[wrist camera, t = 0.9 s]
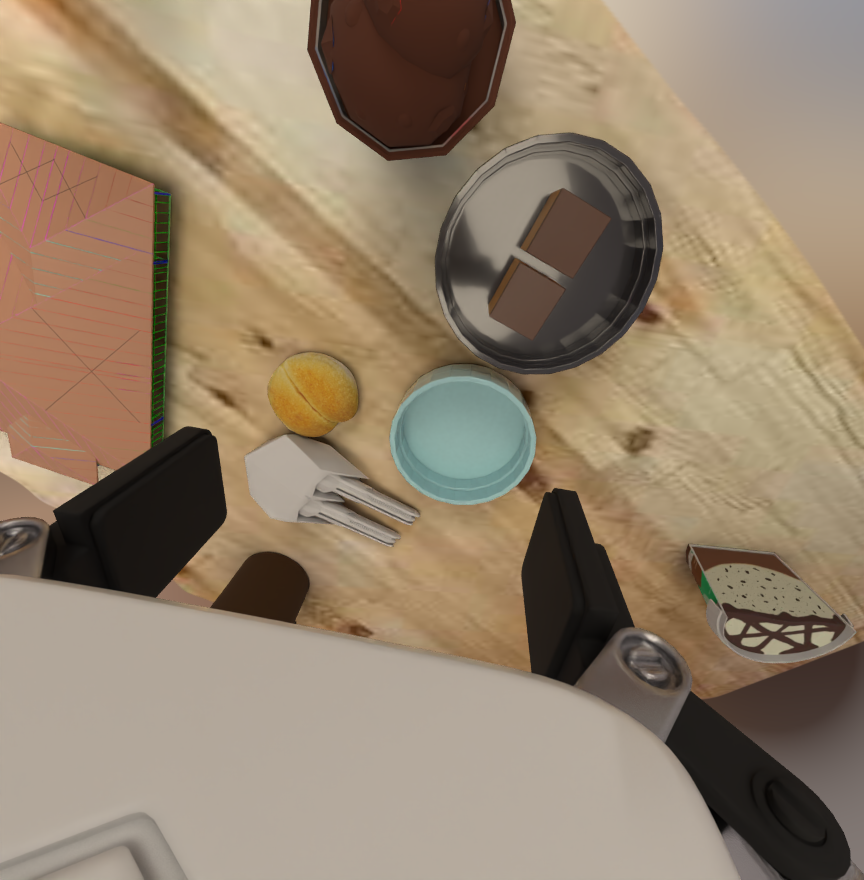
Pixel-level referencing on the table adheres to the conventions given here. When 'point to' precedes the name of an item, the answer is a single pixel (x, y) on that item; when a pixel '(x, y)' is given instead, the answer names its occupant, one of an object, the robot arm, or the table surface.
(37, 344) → the house
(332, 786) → the robot arm
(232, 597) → the olive oil
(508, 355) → the charcoal bowl
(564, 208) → the snack cake
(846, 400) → the table surface
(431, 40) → the ice cream bowl
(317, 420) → the bread roll
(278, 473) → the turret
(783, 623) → the food container
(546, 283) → the snack cake
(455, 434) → the blue bowl
